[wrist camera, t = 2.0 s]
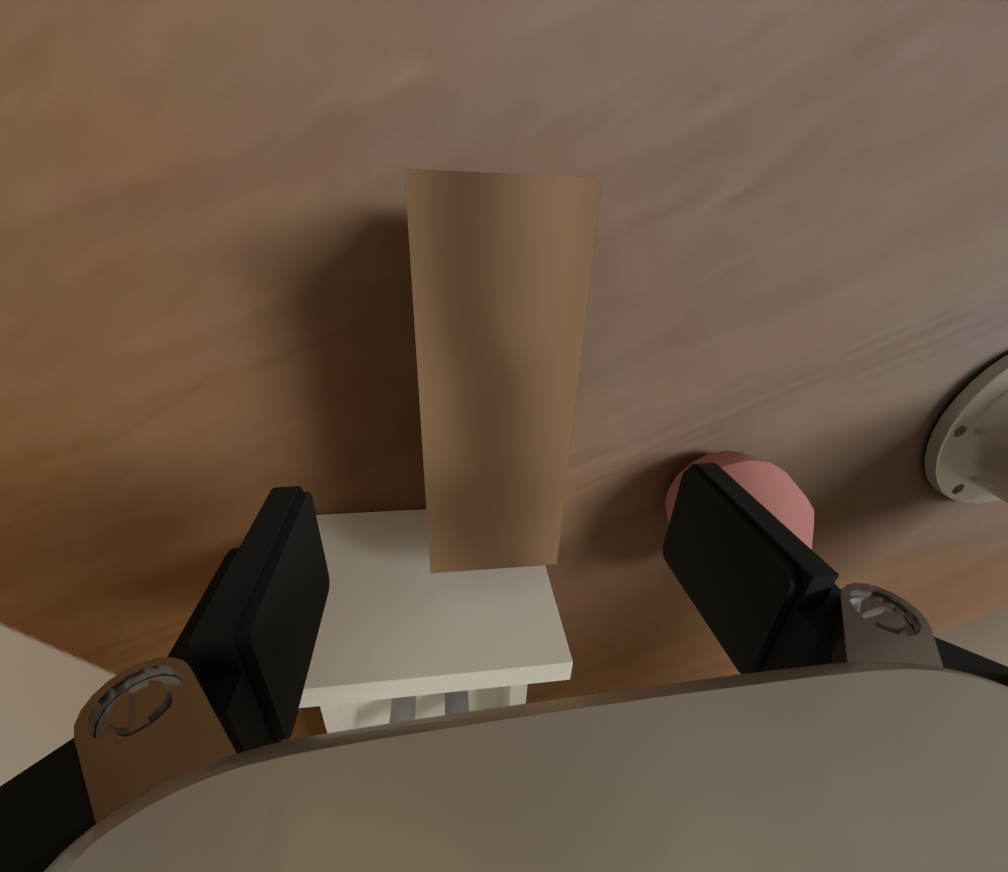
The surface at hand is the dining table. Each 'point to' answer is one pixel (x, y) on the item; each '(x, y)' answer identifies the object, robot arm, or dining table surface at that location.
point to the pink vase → (761, 490)
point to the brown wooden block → (498, 356)
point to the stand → (424, 628)
